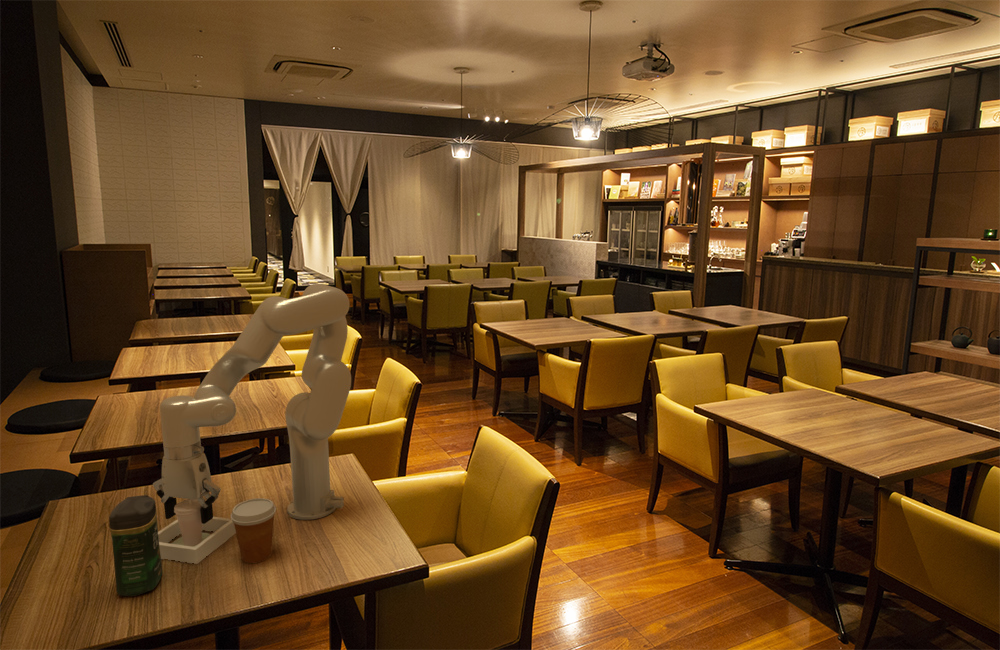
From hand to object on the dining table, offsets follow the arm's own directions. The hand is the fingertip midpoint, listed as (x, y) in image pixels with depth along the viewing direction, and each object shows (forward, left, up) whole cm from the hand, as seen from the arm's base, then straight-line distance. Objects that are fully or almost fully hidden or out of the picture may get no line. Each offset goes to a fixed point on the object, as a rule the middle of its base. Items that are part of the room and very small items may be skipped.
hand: (189, 518), depth 140 cm
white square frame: (0, 0, -6) cm, 6 cm away
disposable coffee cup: (-18, +1, -7) cm, 19 cm away
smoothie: (0, 0, -6) cm, 6 cm away
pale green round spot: (0, 0, -6) cm, 6 cm away
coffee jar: (-1, +16, -7) cm, 17 cm away
